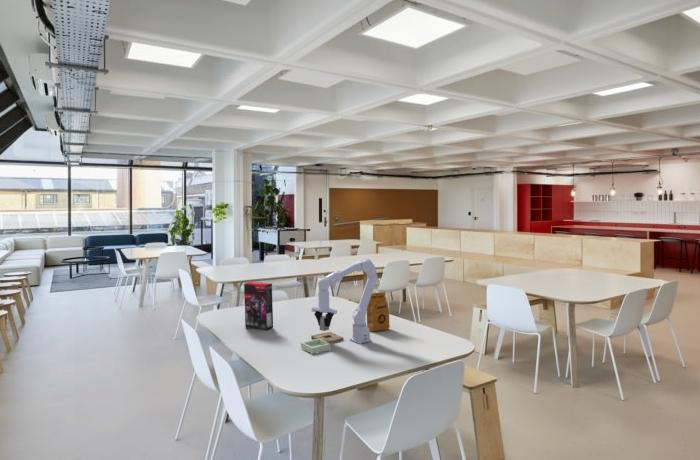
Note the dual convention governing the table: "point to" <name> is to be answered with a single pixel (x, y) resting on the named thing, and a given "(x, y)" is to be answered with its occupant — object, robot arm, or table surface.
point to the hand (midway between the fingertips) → (324, 325)
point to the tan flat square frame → (328, 337)
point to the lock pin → (323, 323)
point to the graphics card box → (258, 305)
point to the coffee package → (378, 312)
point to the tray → (315, 346)
